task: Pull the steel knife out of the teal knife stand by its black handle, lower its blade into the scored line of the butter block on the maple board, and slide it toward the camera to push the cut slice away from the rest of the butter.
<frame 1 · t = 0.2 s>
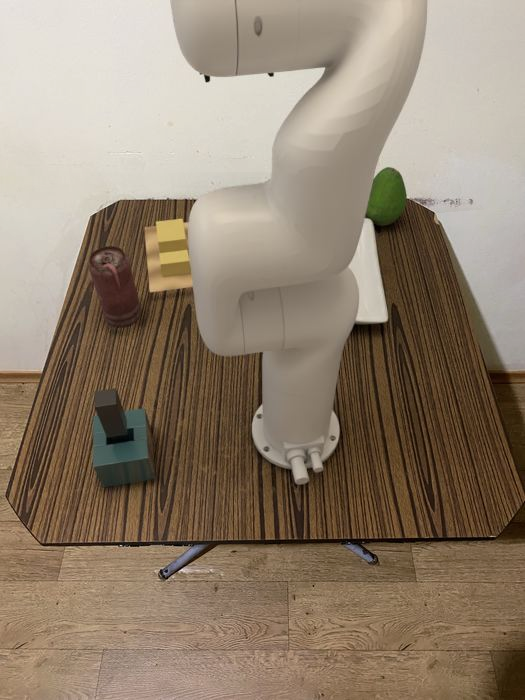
hand: (238, 75, 87), 31 cm above the table, tool pointing down, fingers open, 9 cm apart
knife: (117, 430, 75), in the knife stand
knife stand: (128, 458, 81), on the table
butter board: (175, 260, 107), on the table
butter block: (172, 242, 108), point 1 cm above the table, touching butter board
can: (125, 321, 98), on the table
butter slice: (176, 269, 103), point 1 cm above the table, touching butter board
fruit: (380, 222, 114), on the table
square plate: (301, 279, 104), on the table
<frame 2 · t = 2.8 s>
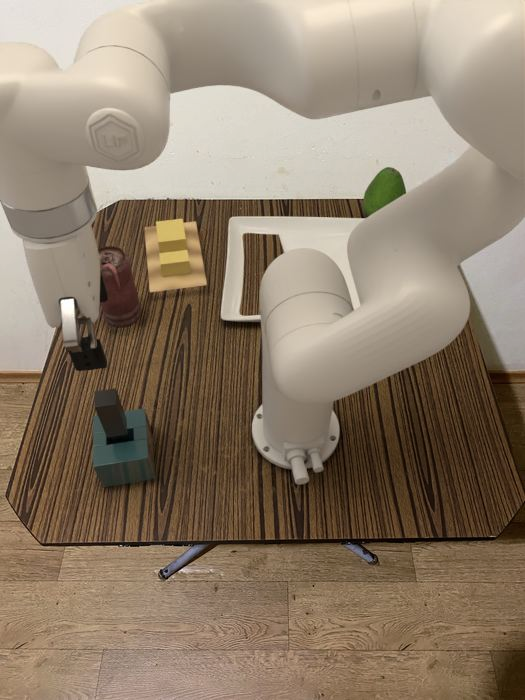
hand: (93, 332, 63), 25 cm above the table, tool pointing down, fingers open, 9 cm apart
nothing on the table moved.
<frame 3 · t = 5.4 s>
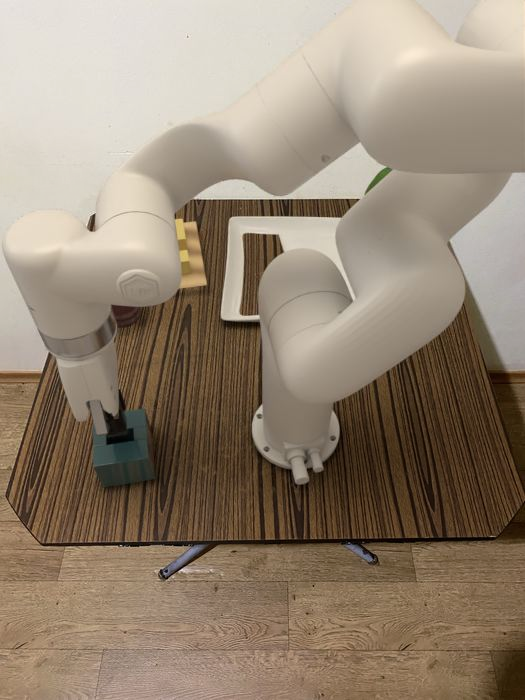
hand: (113, 420, 73), 10 cm above the table, tool pointing down, fingers closed on knife, 2 cm apart
knife: (117, 430, 75), in the knife stand, touching gripper
everything else where it was.
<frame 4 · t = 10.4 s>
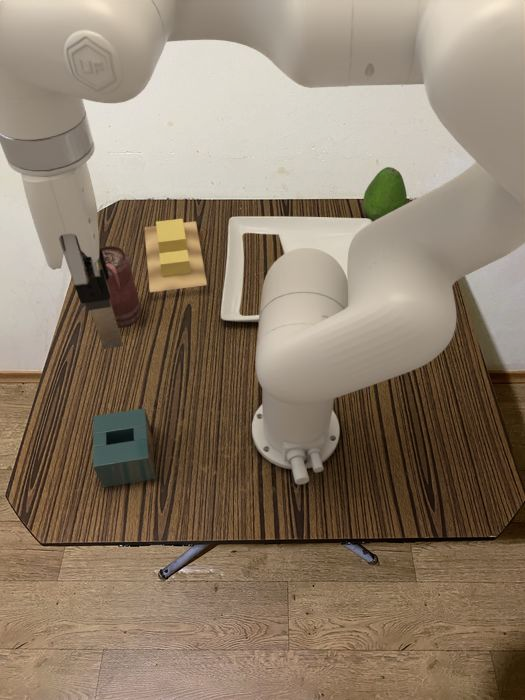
hand: (95, 288, 64), 27 cm above the table, tool pointing down, fingers closed on knife, 2 cm apart
knife: (99, 304, 66), point 25 cm above the table, touching gripper
everything else where it was.
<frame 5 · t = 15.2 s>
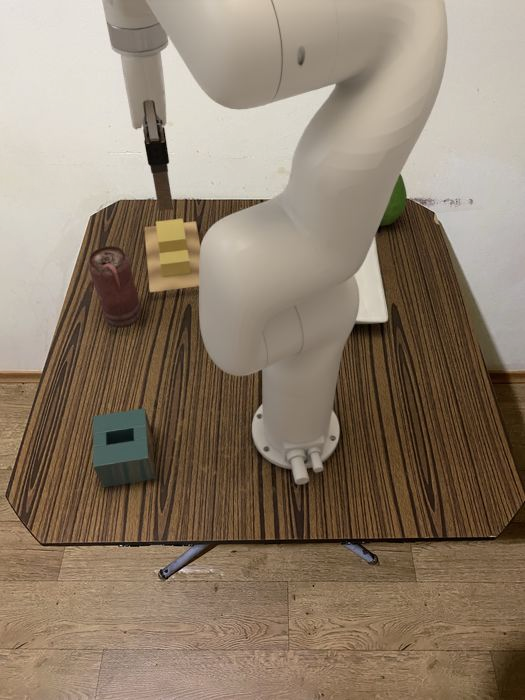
hand: (158, 157, 89), 22 cm above the table, tool pointing down, fingers closed on knife, 2 cm apart
knife: (159, 171, 91), point 20 cm above the table, touching gripper
everything else where it was.
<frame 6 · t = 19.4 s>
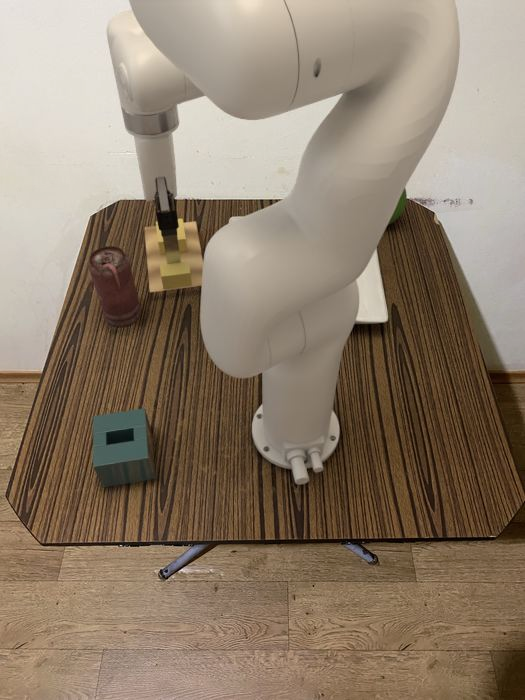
hand: (168, 221, 93), 13 cm above the table, tool pointing down, fingers closed on knife, 2 cm apart
knife: (169, 233, 95), point 11 cm above the table, touching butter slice, gripper
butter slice: (177, 281, 101), point 2 cm above the table, touching butter board, knife
everything else where it was.
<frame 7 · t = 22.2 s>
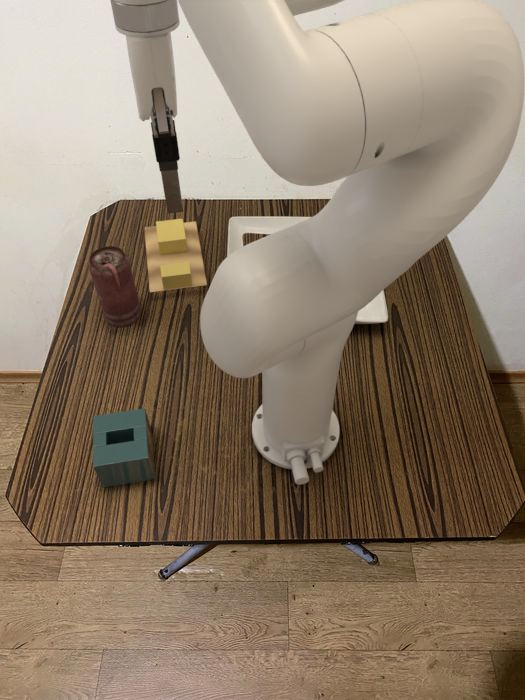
hand: (167, 153, 81), 27 cm above the table, tool pointing down, fingers closed on knife, 2 cm apart
knife: (168, 169, 82), point 25 cm above the table, touching gripper
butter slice: (177, 282, 101), point 1 cm above the table, touching butter board
everything else where it was.
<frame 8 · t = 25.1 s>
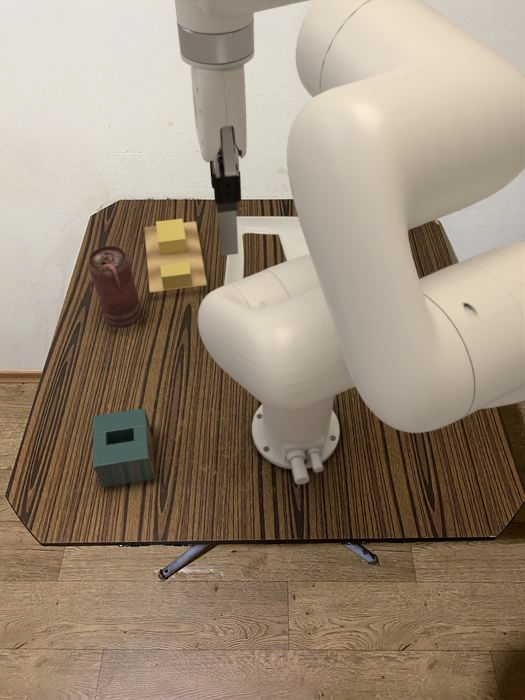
hand: (226, 193, 71), 29 cm above the table, tool pointing down, fingers closed on knife, 2 cm apart
knife: (226, 209, 73), point 27 cm above the table, touching gripper
everything else where it was.
at the end: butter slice moved 3.2 cm from its start; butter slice inside the target area on the butter board (1.8 cm from its centre), point 1.5 cm above the butter board's base; the gripper is holding knife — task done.
